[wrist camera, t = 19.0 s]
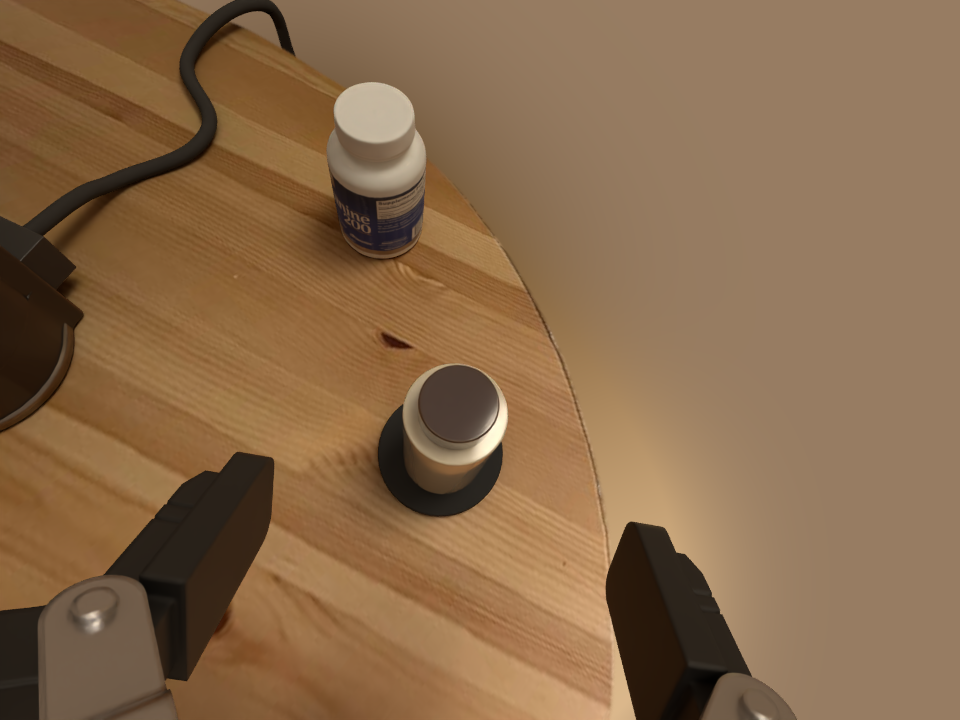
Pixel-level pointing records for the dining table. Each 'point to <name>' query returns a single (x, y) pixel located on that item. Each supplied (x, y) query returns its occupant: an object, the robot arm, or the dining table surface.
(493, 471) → the coaster
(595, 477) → the dining table surface
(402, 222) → the pill bottle
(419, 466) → the cream bottle
